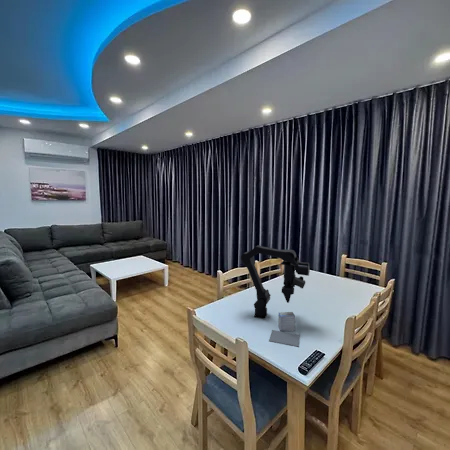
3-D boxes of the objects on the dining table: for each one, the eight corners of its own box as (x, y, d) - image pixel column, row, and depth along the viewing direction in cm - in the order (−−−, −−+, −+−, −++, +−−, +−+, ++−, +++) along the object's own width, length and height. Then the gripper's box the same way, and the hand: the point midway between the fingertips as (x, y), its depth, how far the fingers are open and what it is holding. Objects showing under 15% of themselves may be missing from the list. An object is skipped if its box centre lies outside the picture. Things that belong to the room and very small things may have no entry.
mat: (269, 341, 118) (269, 340, 118) (272, 330, 127) (272, 329, 127) (298, 347, 113) (298, 346, 113) (299, 335, 123) (299, 334, 123)
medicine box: (292, 326, 131) (292, 311, 130) (295, 331, 127) (295, 315, 126) (278, 327, 131) (278, 311, 130) (280, 331, 127) (280, 316, 125)
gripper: (304, 280, 122) (303, 309, 123) (305, 269, 139) (304, 295, 141) (281, 277, 125) (280, 306, 127) (285, 267, 143) (284, 292, 145)
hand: (288, 299), depth 135 cm, fingers open, 7 cm apart
